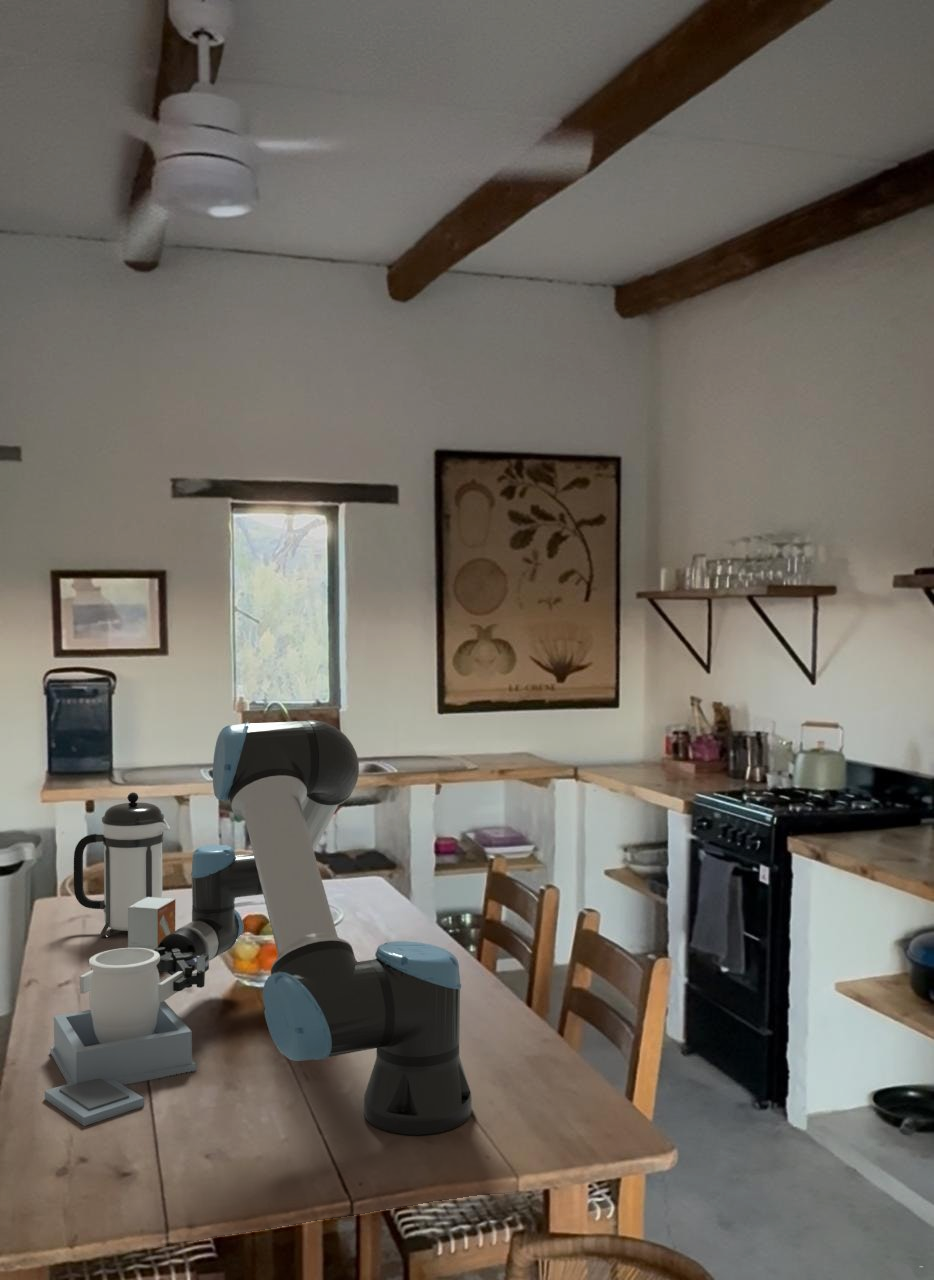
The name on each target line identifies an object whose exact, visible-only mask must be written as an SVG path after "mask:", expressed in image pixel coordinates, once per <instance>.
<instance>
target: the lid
mask: <svg viewBox="0 0 934 1280" xmlns="http://www.w3.org/2000/svg"><path fill="white" fill-rule="evenodd" d="M44 1100H45V1101H47V1102H48V1103H50V1104H51V1105H53V1106H54V1107H56V1108H57V1109H58V1110H60V1111H62V1112H63V1113H64V1114H66V1115H68V1117H70V1118H72V1119H73V1120H75V1121H76V1122H77V1123H79V1124H80V1125H82V1126H83V1127H86V1126H88V1125H91V1124H95V1123H97V1122H101V1121H104V1120H107V1119H109V1118H113V1117H116V1116H119V1115H122V1114H125V1113H128V1112H130V1111H134V1110H136V1109H140V1108H142V1107H145V1098H144V1096H141V1094H138V1093H137V1092H135V1091H133V1090H132V1089H130V1088H128V1087H127V1086H126V1085H122V1084H120V1083H118V1082H117V1081H115V1080H113V1079H112V1078H110V1079H105V1080H103V1079H101V1078H99V1079H94V1080H89V1081H84V1082H80V1083H77V1084H76V1083H75V1082H72V1083H69V1084H67V1083H66V1084H62V1085H60V1086H57V1087H53V1088H50V1089H46V1090H44Z"/></svg>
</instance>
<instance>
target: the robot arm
mask: <svg viewBox="0 0 934 1280" xmlns="http://www.w3.org/2000/svg"><path fill="white" fill-rule="evenodd" d="M359 773H360V762H359V758H358V753H357V751H356V749H355V748H354V745H353V742H351V740H350V739H349V738H348V737H347V736H346V734H344V733H343V732H342V731H341V730H340V729H339V728H337V727H335V726H334V725H332V724H329V722H325V721H322V720H321V721H319V720H314V719H312V720H310V719H308V720H299V721H298V720H295V721H293V720H292V721H279V722H276V721H275V722H256V723H253V722H252V723H250V722H248V721H247V722H245V723H238V724H237V723H235V724H229V725H226V726H225V727H223V728H222V729H221V731H220V732H219V733H218V735H217V738H216V743H215V746H214V755H213V763H212V788H213V793H214V797H215V798H216V800H219V801H222V802H227V801H229V802H230V805H231V811H232V812H233V814H234V815H235V817H236V818H237V819H240V820H242V821H245V825H246V828H247V833H248V836H249V837H248V838H249V841H250V845H251V849H252V853H248V854H238V855H236V852H235V849H234V847H233V846H230V845H229V844H228V845H227V844H210V845H208V844H207V845H203V846H199V847H198V848H196V849H195V850H194V852H193V853H192V860H191V873H190V876H191V897H192V903H191V904H192V905H191V907H192V908H191V922H189V923H187V924H184V925H183V926H182V927H179V928H178V929H175V931H174V932H173V933H171V934H169V935H167V936H166V937H164V938H163V939H162V941H161V942H160V944H159V946H158V947H157V948H155V949H154V950H155V951H157V952H158V953H159V954H160V961H159V963H158V964H157V965H156V966H157V969H158V973H160V974H162V973H166V974H168V975H170V976H168V977H167V978H166V979H164V980H162V981H160V983H159V984H158V1002H163V1001H165V1002H166V1001H167V1000H168V999H169V998H171V997H172V996H175V994H177V993H179V992H181V991H183V990H185V989H186V988H187V989H189V988H192V987H193V985H196V988H204V987H205V982H206V972H208V970H210V961H211V960H213V959H215V958H216V957H218V956H220V955H221V954H223V953H226V952H227V951H229V950H230V949H231V948H232V947H234V945H235V944H236V943H237V942H236V939H237V938H238V937H239V936H240V935H242V936H243V933H244V921H243V919H242V917H241V914H240V913H239V912H238V911H237V910H236V909H235V908H236V907H235V900H236V898H242V897H251V896H252V897H253V896H262V895H263V899H264V903H265V907H266V911H267V915H268V919H269V924H270V927H271V928H270V929H271V931H272V932H271V933H272V936H273V939H274V944H275V949H276V952H277V956H276V958H275V960H274V961H273V963H272V965H271V967H270V975H269V976H268V977H266V980H265V981H264V985H263V990H262V1003H263V1005H264V1008H265V1009H264V1012H263V1013H264V1018H265V1022H266V1025H267V1028H268V1031H269V1034H270V1037H271V1039H272V1041H273V1043H274V1044H275V1046H276V1048H277V1049H278V1051H279V1052H280V1053H281V1054H282V1055H283V1056H284V1057H286V1058H287V1059H289V1060H290V1061H294V1062H302V1061H304V1062H305V1061H311V1060H315V1061H322V1060H325V1059H327V1058H332V1057H336V1056H342V1055H346V1054H351V1053H357V1052H361V1051H367V1050H368V1051H369V1050H372V1049H376V1057H375V1061H374V1065H373V1068H372V1070H371V1074H370V1077H369V1080H368V1083H367V1086H366V1089H365V1092H364V1096H363V1114H364V1115H363V1116H364V1117H365V1120H366V1121H368V1122H369V1123H370V1124H371V1125H373V1126H374V1127H375V1128H378V1129H379V1130H380V1129H381V1130H384V1131H387V1132H390V1133H395V1134H399V1135H401V1134H402V1135H411V1136H413V1135H414V1136H416V1135H430V1134H433V1135H434V1134H438V1133H443V1132H446V1131H450V1130H452V1129H453V1130H454V1129H455V1128H458V1127H459V1126H461V1125H463V1124H464V1123H465V1122H467V1121H468V1120H469V1118H470V1116H471V1115H472V1110H473V1109H472V1103H473V1102H472V1091H471V1089H470V1085H469V1082H468V1079H467V1076H466V1073H465V1069H464V1066H463V1064H462V1060H461V1058H460V1030H461V1029H460V1026H461V1025H460V1022H461V1019H460V1017H461V1012H460V1011H461V989H462V984H461V976H460V964H459V960H458V958H457V957H456V956H455V955H454V953H452V952H451V951H449V950H447V949H446V948H443V947H439V946H437V945H434V944H433V945H432V944H430V943H423V942H417V941H399V940H398V941H397V940H396V941H387V942H384V943H381V944H380V945H378V946H377V949H376V952H375V959H367V960H360V961H358V960H356V959H357V958H356V956H355V953H354V950H353V949H354V948H353V946H352V944H351V943H350V942H348V941H347V940H345V939H342V938H340V937H338V933H337V929H336V925H335V922H334V919H333V915H332V911H331V907H330V905H329V900H328V897H327V893H326V891H325V887H324V883H323V879H322V876H321V871H320V869H319V866H318V862H317V858H316V854H315V851H316V849H317V847H318V845H319V843H320V841H321V839H322V837H323V836H324V834H325V831H326V829H327V828H328V826H329V824H330V822H331V820H332V818H333V817H334V814H335V812H336V810H337V809H338V807H339V805H341V804H343V803H345V802H346V801H347V800H348V799H349V798H350V797H351V795H352V793H353V792H354V789H355V788H356V785H357V783H358V780H359ZM235 942H236V943H235ZM137 948H141V947H137ZM194 971H196V973H195V972H194ZM92 974H93V970H92V969H91V968H90V970H89V971H86V972H85V973H83V974H82V975H80V976H79V994H81V995H85V994H86V993H88V992H90V983H91V977H92Z"/></svg>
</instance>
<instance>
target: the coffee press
mask: <svg viewBox="0 0 934 1280" xmlns="http://www.w3.org/2000/svg"><path fill="white" fill-rule="evenodd" d="M127 801H128V802H124V803H119V804H115V805H113V806H110V807H109V808H107V809H106V811H105V813H104V816H102V817H101V822H102V825H103V834H98V833H90V834H87V835H86V836H84V837H82V838H80V839H79V841H78V843H77V844H76V846H75V849H74V853H73V854H74V855H73V890H74V896H75V899H76V900H77V901H78V903H79V904H80V905H81V906H82V907H84V908H88V909H93V910H103V912H104V923H105V924H104V926H103V928H102V930H101V932H100V935H101V937H102V936H103V937H102V938H105V935H107V936H110V937H111V935H113V933H114V932H116V931H122V932H123V931H124V932H125V931H126V932H128V907H130V906H132V905H133V904H135V903H136V902H138V901H141V900H143V899H144V898H146V897H156V898H163V842H164V832H163V831H166V830H167V831H169V830H170V829H171V827H170V825H169V824H168V822H167V821H166V819H165V818H164V817H165V816H164V814H163V813H162V811H161V809H160V807H159V806H157V805H156V804H152V803H149V802H148V803H147V802H137V801H139V794H138V793H136V792H131V793H129V794H128V796H127ZM93 843H102V844H103V882H104V883H103V885H104V886H103V887H104V888H103V891H104V893H103V894H104V895H103V897H104V898H103V900H95V899H94V900H93V899H90V898H88V897H87V896H86V894H85V891H84V851H85V849H86V847H87V845H89V844H93ZM109 928H110V930H109V931H108V929H109ZM107 931H108V932H107Z"/></svg>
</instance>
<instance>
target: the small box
mask: <svg viewBox="0 0 934 1280" xmlns="http://www.w3.org/2000/svg"><path fill="white" fill-rule="evenodd" d="M176 900H177V899H176V898H169V897H168V898H167V897H162V898H156V897H146V898H144V899H143V900H141V901H138V902H136V903H135V904H133V905H132V906H130V907H128V931H127V948H137V947H141V948H146V949H152V950H154V949H155V948H157V947H158V946H159V944H160V942H161V941H162V939H163V938H164V937H166V936H167V935H169V934H171V933H173V932H174V931H176ZM159 975H161V973H159Z"/></svg>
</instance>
